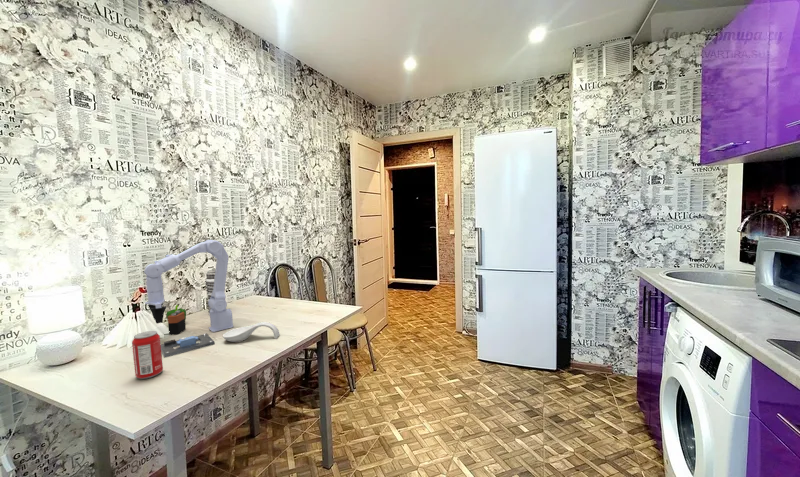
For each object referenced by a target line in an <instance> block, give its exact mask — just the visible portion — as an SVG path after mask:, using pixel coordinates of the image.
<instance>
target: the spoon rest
mask: <svg viewBox="0 0 800 477" xmlns="http://www.w3.org/2000/svg"><path fill="white" fill-rule="evenodd" d="M261 327H266V328H269V329H270V330H271V331H272V332H273V337H274V339H275V340H277V339H278V338H279V337H280V334H281V333H280V331H279V328H278V326H276V325H274V324H273V323H272V322H267V321H262V322H257V323H255V324H252V325H248V326H247V325H246V326H241V327H237V328H233V329H230V330H228V331H226V332H225V333H223V334H222V338H223V339H224V340H226V341H228V342H232V343H238V342H239V341H240V342H243V340H244V341H245V340H247V339H248V338H249V337H250V336H251V335H252V334H253V333H254V332H255V330H257V329H258V328H261Z"/></svg>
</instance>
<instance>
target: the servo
mask: <svg viewBox="0 0 800 477" xmlns="http://www.w3.org/2000/svg"><path fill="white" fill-rule="evenodd" d="M195 336H196V337H195ZM197 336H198V335H191V336H187V337H186V336H185V337H181V338H179V339H178V340H179V341H178V340H175V341H176V342H177V344H180V346H179V348H180V347H184V346H188V345H192V344H195V343H197V341H196V340H197V339H198V337H197Z"/></svg>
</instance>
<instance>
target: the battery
mask: <svg viewBox="0 0 800 477" xmlns="http://www.w3.org/2000/svg"><path fill="white" fill-rule="evenodd" d="M167 325H168V334H171V335H170V336H172V334H174V335H179V334H180V333H182V332H184V331H186V329H187V328H186V319H185V316H184V312H180V311H175V313H172V314H171V315H169V316H168V319H167ZM169 331H170V332H169Z"/></svg>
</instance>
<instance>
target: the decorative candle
mask: <svg viewBox="0 0 800 477" xmlns="http://www.w3.org/2000/svg"><path fill="white" fill-rule="evenodd" d="M215 270H216V269H210V270H208V271H207V272H206V273H205V275H206V279H205V281H204V282H205V284H204V285H205V286H206V287H205V289H206V290H205V291H206V295H207V302H208V301H209V299H210V298H211V294H212V292H213V287H214V278H215ZM207 307H208V308H207V310H208V315H209V316H210V310H211V307H209V305H208V304H207Z"/></svg>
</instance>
